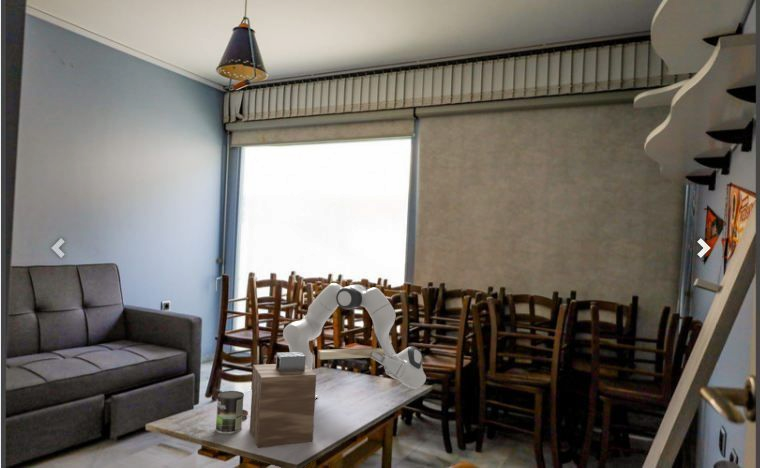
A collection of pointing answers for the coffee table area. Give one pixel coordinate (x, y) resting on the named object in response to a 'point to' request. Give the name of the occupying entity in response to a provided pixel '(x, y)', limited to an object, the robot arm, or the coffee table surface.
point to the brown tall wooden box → (282, 406)
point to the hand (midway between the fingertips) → (369, 351)
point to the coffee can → (229, 412)
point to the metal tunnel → (290, 361)
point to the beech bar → (348, 353)
